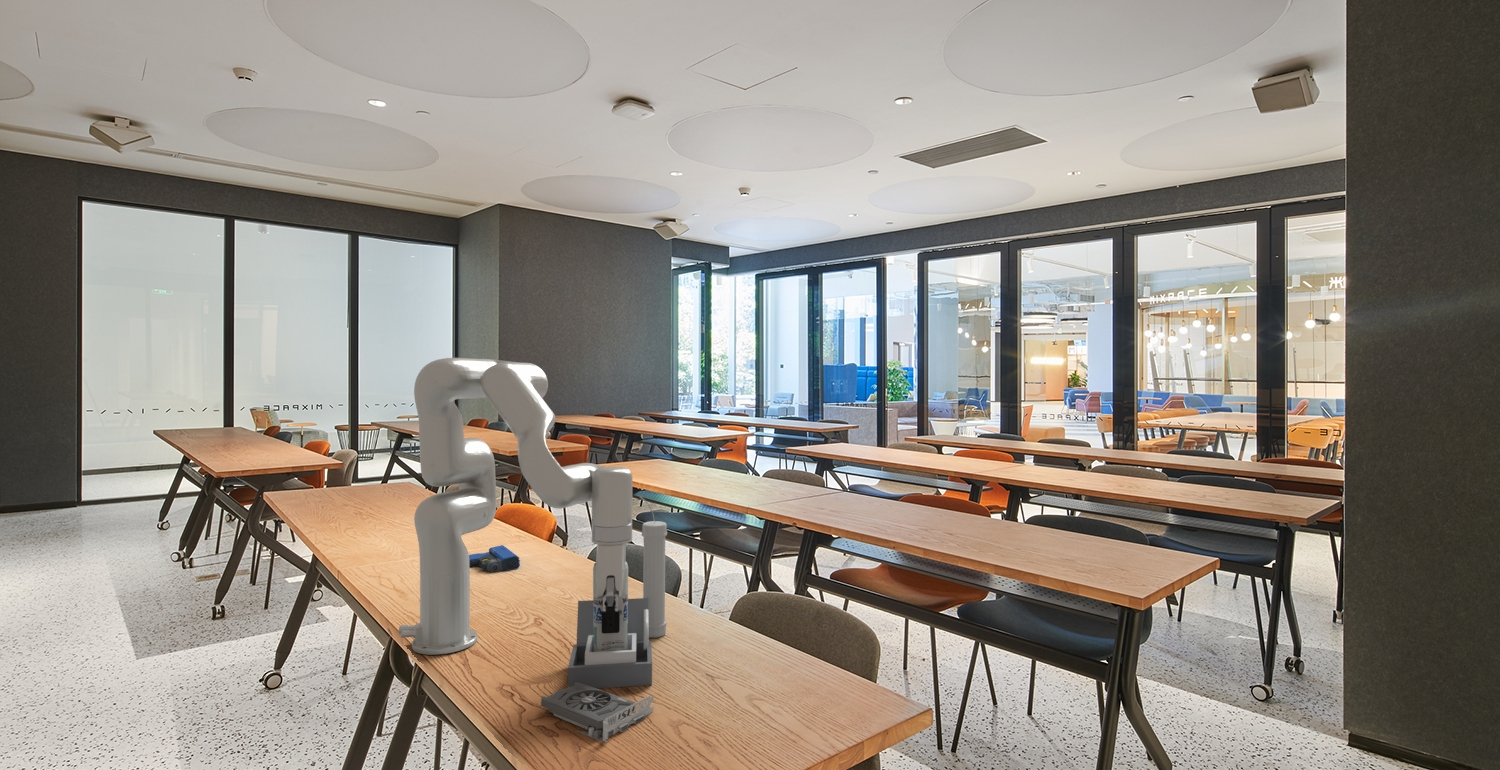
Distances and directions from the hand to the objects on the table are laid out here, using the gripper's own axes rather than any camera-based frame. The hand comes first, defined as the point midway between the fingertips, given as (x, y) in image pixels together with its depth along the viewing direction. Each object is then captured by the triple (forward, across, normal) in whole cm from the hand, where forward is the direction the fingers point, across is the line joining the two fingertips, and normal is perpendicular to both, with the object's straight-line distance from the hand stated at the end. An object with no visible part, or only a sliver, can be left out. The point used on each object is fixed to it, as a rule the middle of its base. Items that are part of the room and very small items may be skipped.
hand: (611, 623), depth 133 cm
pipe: (+10, -20, +8) cm, 24 cm away
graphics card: (+10, +15, -2) cm, 18 cm away
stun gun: (+10, -80, -39) cm, 90 cm away
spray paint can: (+9, 0, 0) cm, 9 cm away
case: (+10, -2, 0) cm, 10 cm away
